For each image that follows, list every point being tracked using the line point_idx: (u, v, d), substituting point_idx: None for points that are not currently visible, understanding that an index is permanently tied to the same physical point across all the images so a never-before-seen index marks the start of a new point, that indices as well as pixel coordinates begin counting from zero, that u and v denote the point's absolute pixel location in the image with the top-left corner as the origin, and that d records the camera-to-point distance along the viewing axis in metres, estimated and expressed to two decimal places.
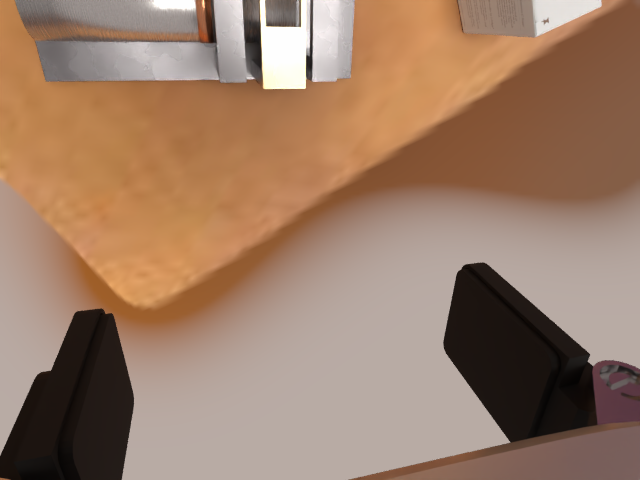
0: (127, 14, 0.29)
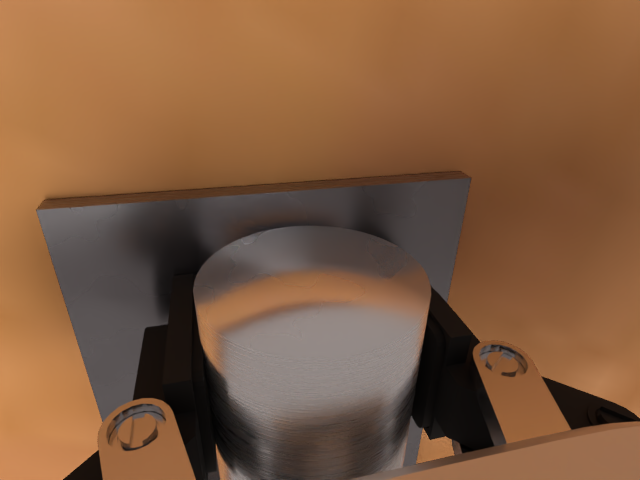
0: None
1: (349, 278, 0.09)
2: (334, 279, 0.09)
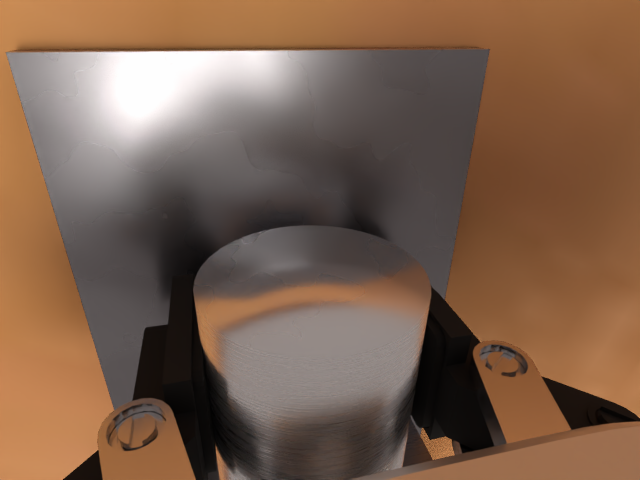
0: None
1: (349, 278, 0.09)
2: (334, 279, 0.09)
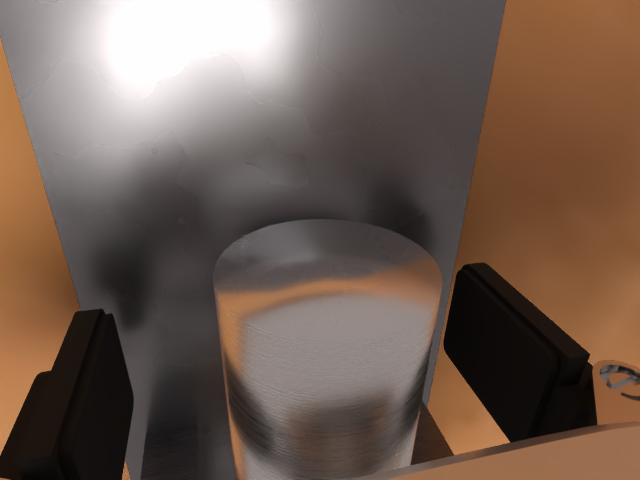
0: None
1: (362, 265, 0.10)
2: (349, 267, 0.10)
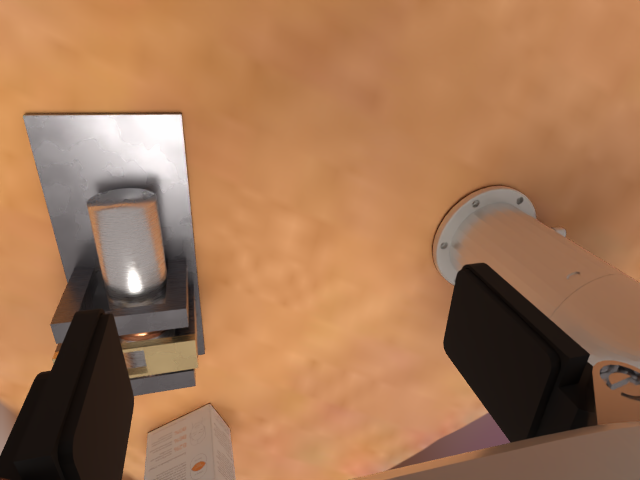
0: (133, 286, 0.34)
1: (133, 199, 0.33)
2: (128, 200, 0.33)
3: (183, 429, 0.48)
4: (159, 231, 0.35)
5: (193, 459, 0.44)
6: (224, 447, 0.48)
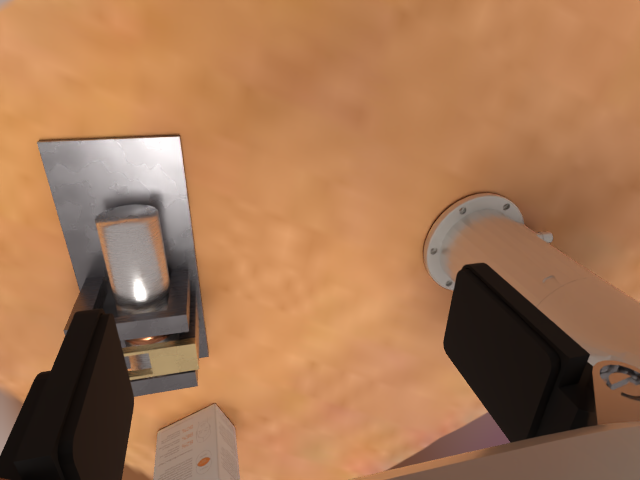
0: (138, 295, 0.37)
1: (136, 215, 0.37)
2: (132, 216, 0.36)
3: (190, 427, 0.51)
4: (161, 243, 0.38)
5: (198, 455, 0.47)
6: (228, 444, 0.51)
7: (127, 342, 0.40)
